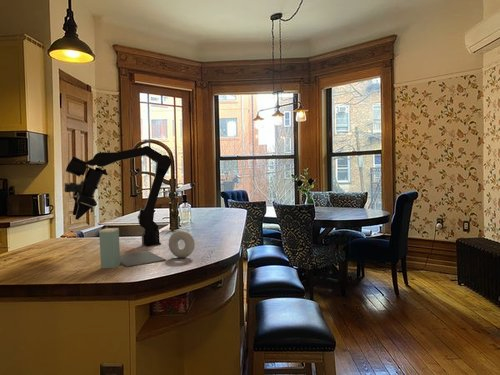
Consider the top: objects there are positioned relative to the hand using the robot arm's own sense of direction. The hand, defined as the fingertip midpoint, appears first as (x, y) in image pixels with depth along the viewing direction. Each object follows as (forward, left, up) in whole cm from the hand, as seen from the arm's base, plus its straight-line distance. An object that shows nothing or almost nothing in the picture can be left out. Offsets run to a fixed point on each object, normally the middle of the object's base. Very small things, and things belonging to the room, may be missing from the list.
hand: (75, 217), depth 149 cm
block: (-5, +35, -14) cm, 38 cm away
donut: (-28, +40, -14) cm, 51 cm away
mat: (-15, +31, -14) cm, 37 cm away
